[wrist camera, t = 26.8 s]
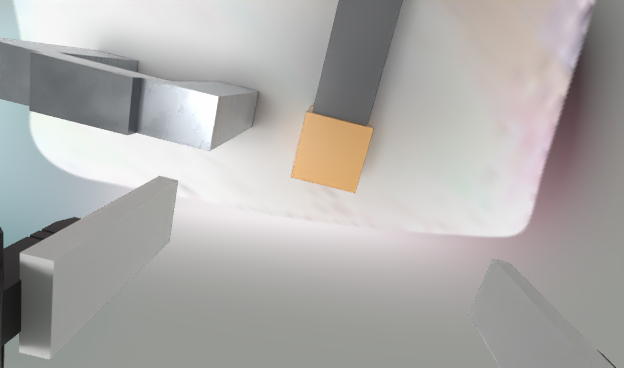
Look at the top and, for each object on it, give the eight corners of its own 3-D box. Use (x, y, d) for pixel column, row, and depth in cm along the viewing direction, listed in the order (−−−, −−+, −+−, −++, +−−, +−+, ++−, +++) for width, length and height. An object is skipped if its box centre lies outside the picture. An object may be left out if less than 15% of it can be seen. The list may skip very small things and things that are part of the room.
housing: (258, 91, 39) (212, 97, 24) (251, 126, 40) (203, 154, 25) (97, 50, 39) (-52, 30, 24) (95, 87, 40) (-49, 91, 25)
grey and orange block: (347, -47, 35) (352, -89, 26) (406, -32, 35) (430, -69, 26) (299, 156, 41) (290, 177, 32) (350, 169, 41) (355, 193, 32)
